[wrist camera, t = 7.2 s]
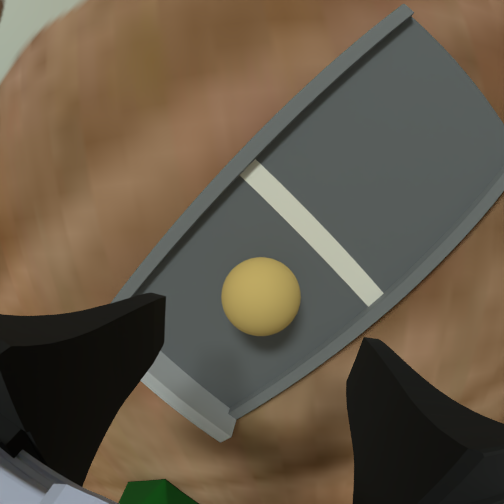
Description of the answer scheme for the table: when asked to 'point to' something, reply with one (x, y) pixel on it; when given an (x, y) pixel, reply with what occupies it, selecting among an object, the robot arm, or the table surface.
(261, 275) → the ball
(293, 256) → the lane mat
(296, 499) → the table surface
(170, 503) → the milk carton
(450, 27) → the table surface
